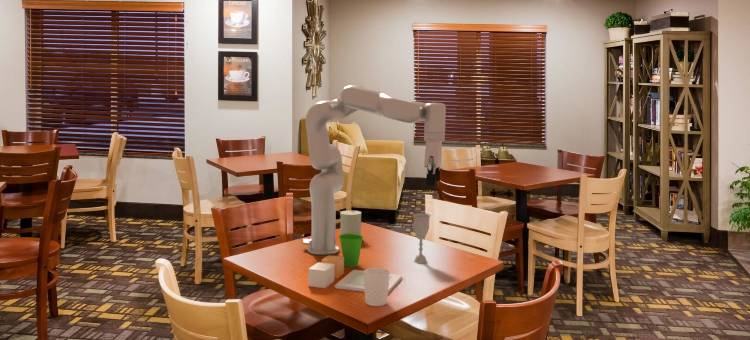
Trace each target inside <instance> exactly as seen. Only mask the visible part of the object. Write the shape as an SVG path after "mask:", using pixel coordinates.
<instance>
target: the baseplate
mask: <svg viewBox="0 0 750 340" xmlns="http://www.w3.org/2000/svg"><path fill="white" fill-rule="evenodd" d="M402 279H403V275H401V274H393V273H390V274H389V288H388V294H389V293H390V292H392V290H393V289H394V288H395V286H396V285H398V283H400V281H401V280H402ZM334 288H335V289H338V290H339V289H340V290H346V291H347V290H349V291H355V292H362V293H363V292H364V293H365V288H364V270H359V269H358V270H357V269H353V270H351V271H350V272H349V273H348V274H346V276H344V277H343V278H342V279H341V280H339V281H338V282H337V283H336V284H334Z"/></svg>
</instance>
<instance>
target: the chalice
mask: <svg viewBox="0 0 750 340" xmlns="http://www.w3.org/2000/svg"><path fill="white" fill-rule="evenodd" d="M431 216H432V215H431V214H430V213H424V212H422V213H421V212H418V213H413V214H412V217H413V230H414V234H415V236H416V237H417V239H418V240H419V243H418V246H419V248H418V250H419V251H418V252H419V253H418V254H417V255H416V256H415V258H414V260H413V262H414V263H416V264H426V263H428V261H427V258H426V256H425V255H424V254H423V250H424V248H423V245H424V244H423V240H425V238H426V236H427V235H428V232H429V229H430V218H431Z"/></svg>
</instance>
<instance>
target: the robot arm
mask: <svg viewBox="0 0 750 340" xmlns="http://www.w3.org/2000/svg"><path fill="white" fill-rule="evenodd" d="M446 108H447V107H446V105H445V104H444V103H443V102H442V103H441V102H421V101H406V100H402V99H399V98H398V99H397V98H394V97H391V96H388V95H387V94H386V93H384V92H382V91H378V90H374V89H373V90H372V89H368V88H365V87H364V86H362V85H355V84H354V85H347V86H345V87H343V88H342V89H341V92H340V95H339V96H338V97H337V98H335V99H333V100H321V101H318V102H316V103H315V104H313V105H312V106H311V107H309V109H308V110H307V113H306V115H305V130H306V138H307V147H308V155H309V163H310V165H311V167H312V168H314V169H315V170H319V171H320V173H318V174H315V175H314V176H313V177H312V179H311V180H310V182H309V195H310V202H311V205H310V206H311V238H310V239H308V238H303V240H302V244H303V246H309V247H307V252H308V253H310V254H312V255H318V256H328V255H329V256H331V255H334V254H336V253H339V252H340V247H339V246H338V245H336V223H337V222H336V215H337V214H336V201H335V195H334V194H336V193H339V192H340V191H342V188H343V186H344V184H345V177H344V169H343V159H342V154H341V151H340V149H339V147H337V146H336V145H335V144H332V143H330V134H329V129H328V128H327V124H329V123H335V122H340V121H342V120H344V119H346V118H347V117H349V116H350V115H352V114H354V113H355V112H357V111H362V112H366V113H368V114H369V113H370V114H373V115H377V116H380V117H385V118H387V119H390V120H391V119H392V120H395V121H398V122H403V123H407V124H414V123H420V122H424V128H423V129H424V134H423V136H424V137H423V138H424V139H423V140H424V141H425V150H424V162H423V163H424V164H423V165H424V166H423V167H424V168H425V169H426V181H425V183H426V185H427V186H435V185H436V182H440V181H441V165H442V157H443V156H442V153H443V152H442V151H443V148H442V145H443V142H445V140H446V139H445V138H446V137H445V136H446V113H447V112H446V111H447V109H446Z"/></svg>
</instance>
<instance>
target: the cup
mask: <svg viewBox="0 0 750 340" xmlns="http://www.w3.org/2000/svg"><path fill="white" fill-rule="evenodd" d="M338 238H339V241H340V246H341V248H340V249H341V253H342V257H344V267H346V268H355V267H358V265H359V262H360V261H359V260H360V255H361V248H362V243H363V239H364V235H363V234H361V235H360V234H354V233H348V234H342V235H339V236H338Z"/></svg>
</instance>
